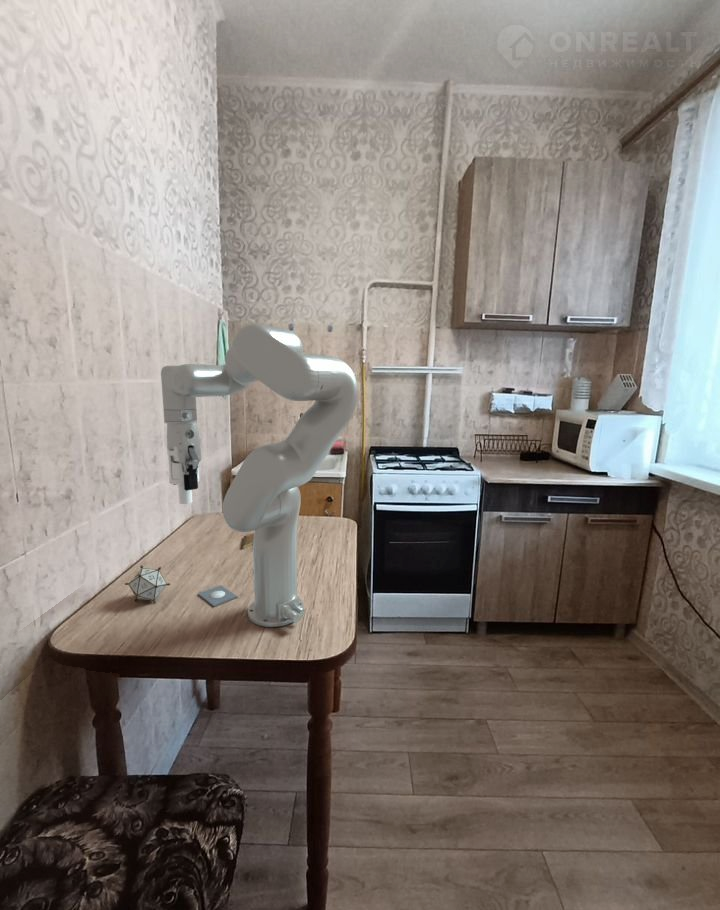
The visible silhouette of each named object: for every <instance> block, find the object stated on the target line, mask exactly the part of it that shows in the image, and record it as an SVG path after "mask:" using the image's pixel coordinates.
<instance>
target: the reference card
mask: <svg viewBox="0 0 720 910" xmlns="http://www.w3.org/2000/svg"><path fill="white" fill-rule="evenodd" d="M197 595H198V596H199V597H200V598H202V599H203V600H204V601H205V602H207V603H208V604H209V605H211V606H212V607H214V608H216V607H217V606H218V607H219V606H220V605H222V604H225V603H228V602H230V601H232V600H235V599H237V598H238V595H236V594H235V593H233V592H231V591H230V590H229V589H227V588H226V587H224V586H223V585H222V584H220V585H217V586H215V587H212V588H209V589H206V590H204V591H201V592H198V593H197Z"/></svg>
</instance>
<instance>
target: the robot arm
mask: <svg viewBox="0 0 720 910" xmlns="http://www.w3.org/2000/svg"><path fill="white" fill-rule="evenodd" d="M224 356H225V357H224V362H225V364H221V365H217V364H215V365H214V364H202V363H201V364H200V363H199V364H198V363H197V364H196V363H185V364H179V365H166V366H162V368H161V371H160V378H161V379H160V380H161V381H160V382H161V392H162V406H163V423H164V424H166V445H167V446H166V449H167V450H168V449H170V450H171V451H174V447H177V451H178V457H179V461H176V462H179V463H182V464H183V467H184V471H185V474H184V489H185V490H186V491H187V490H192V491H193V490H197V489H198V488H199V482H198V478H197V473H198V470H197V469H199V463H200V462H202V451H201V440H200V433H199V428H198V424H197V423H198V410H197V398H199V397H200V398H202V397H203V398H205V397H206V398H207V397H227V396H229V395H230V396H231V395H232V394H233V395H234V394H236V393H239V392H243V391H244V390H247V389H249V388H250V386H251V385H252V384H253V383H255V382H257V381H259V382H261V384H264V385H265V386H266V387H267V388H269V389H270V390H272V391H273V392H274V393H275V394H277V395H278V396H280V397H282V398H284V399H286V400H288V401H292V402H293V401H294V402H308V401H309V402H311V401H313V402H314V403H313V404H311V406H310V407H309V408H308V409H307V410H306V411H305V412H303V414H302V415H301V416H300V417H299V419H298V420H297V421H296V423H295V426H294V427H293V429H292V430H291V431H290V433H289V435H288V436H287V437H286V438H285V439H283V440H282V441H279V442H274V443H269V444H265V445H261V446H258V447H256V448H255V449H253V450H252V451H251V452H249V454H248V455H247V456H246V457H245V458H244V460H243V462H242V464H241V465H240V467H239V469H238V471H237V473H236V475H235V476H234V478H233V480H232V482H231V484H230V486H229V487H228V489H227V490H226V493H225V496H224V498H223V503H222V515H223V518H224V521H225V523H226V524H227V526H228V527H229V528H230V529H232V530H233V531H235V532H239V533H250V532H253V533H254V538H253V545H252V549H253V550H252V551H253V552H252V555H253V556H252V557H253V561H252V562H253V585H254V586H253V587H254V588H253V590H254V601H253V602H252V603H251V604H250V605H249V606H248V608H247V616H248V619H249V621H251V622H252V623H253V624H255V625H257V626H261V627H266V628H274V627H275V628H277V627H283V626H286V625H290V624H293V623H294V624H297V623H299V622H300V620H301V617H302V616H303V615H304V614H305V612H306V609H305V604H304V602H303V601H302V599H301V598H300V596H298V554H297V553H298V550H297V547H298V542H297V540H298V534H297V533H298V521H299V514H300V510H301V502H302V501H301V499H302V498H301V491H300V489H299V487H300V486H302V485H305V484H306V483H308V482H309V481H310V480H312V478H313V477H314V476H315V475H316V473H317V471H318V470H319V468H320V467H321V465H322V463H323V462H324V461H325V459H326V458H327V456H328V455H329V453H330V451H331V450H332V448H333V447H334V445H335V444H336V442H337V440H338V439H339V437H340V436H341V434H342V433H343V432H344V430H345V429H346V427H347V426H348V424H349V422H350V421H351V419H352V418H353V416H354V413H355V411H356V408H357V404H358V400H359V385H358V381H357V377H356V374H355V373H354V371H353V369H352V368H351V367H350V366H349V365H348V364H347V363H346V362H345V361H343V360H342V359H340V358H337V357H334V356H330V355H324V354H312V353H305V352H304V346H303V343H302V341H301V339H300V338H299V336H298V335H297V334H296V333H294V331H291V330H289V329H286V328H283V327H281V326H280V327H278V326H273V325H269V324H268V325H267V324H262V323H249V324H246V325H244V326H243V327H241V328H240V329H239V330H238V331H237V332H236V333H235V335H234V338H233V341H232V346H230V347H229V348H228V349H227V351H226V353H225V355H224ZM188 454H189V455H188ZM171 459H172V460H173V461H175V459H174V456H172V455H171ZM185 460H191V461H187V462H186V461H185ZM187 465H189V467H187ZM172 485H173V486H176V485H175V484H172Z"/></svg>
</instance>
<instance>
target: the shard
mask: <svg viewBox="0 0 720 910" xmlns="http://www.w3.org/2000/svg"><path fill="white" fill-rule="evenodd" d="M253 538H254V532H253V533H249V534H247V535H244V536H243V540H242V548H243V550H245V549H248V548H250V547H253Z"/></svg>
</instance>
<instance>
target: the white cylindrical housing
mask: <svg viewBox="0 0 720 910" xmlns="http://www.w3.org/2000/svg"><path fill="white" fill-rule="evenodd" d="M166 451H167V455H168V456H167V457H168V470H169V471H168V472H169V478H168V479H169V484H171V485H173V484H175V485H174V486H176V485H177V486H178V496H179V497H178V499H179V504H180V505H181V504H182V505H188V504H189V505H190V504H192V503H193V490H187V491H186V490H185V489H184V474H185V471H184V467H183V464H182V463H179V462H176V461H179V457H178V451H177V447H174V451H171V450H170V449H167V450H166ZM171 455H172V456H174V459H175V461H173V460H172V459H171ZM188 455H189V454H188ZM185 461H186V462H187V461H191V460H185ZM187 467H189V465H187ZM197 470H198V473H197V478H198V483H199V482H200V474H199V473H200V470H199V468H198V469H197Z"/></svg>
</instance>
